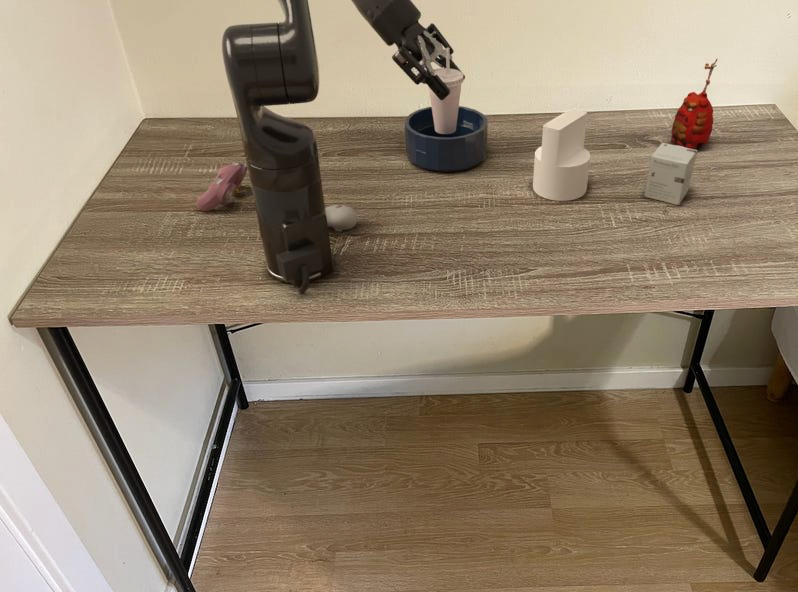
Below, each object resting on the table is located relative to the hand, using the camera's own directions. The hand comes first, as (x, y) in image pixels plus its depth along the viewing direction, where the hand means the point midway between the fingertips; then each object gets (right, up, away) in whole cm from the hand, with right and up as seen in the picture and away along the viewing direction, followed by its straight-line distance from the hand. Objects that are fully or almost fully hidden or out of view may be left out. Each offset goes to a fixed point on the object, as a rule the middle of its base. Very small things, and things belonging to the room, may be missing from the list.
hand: (453, 88), depth 129 cm
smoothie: (-2, -5, +5) cm, 8 cm away
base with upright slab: (+18, -17, -1) cm, 25 cm away
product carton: (+35, -18, -2) cm, 40 cm away
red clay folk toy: (+44, -6, +12) cm, 46 cm away
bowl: (-1, -9, +8) cm, 13 cm away
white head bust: (-19, -25, -10) cm, 33 cm away
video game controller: (-37, -20, -4) cm, 42 cm away
